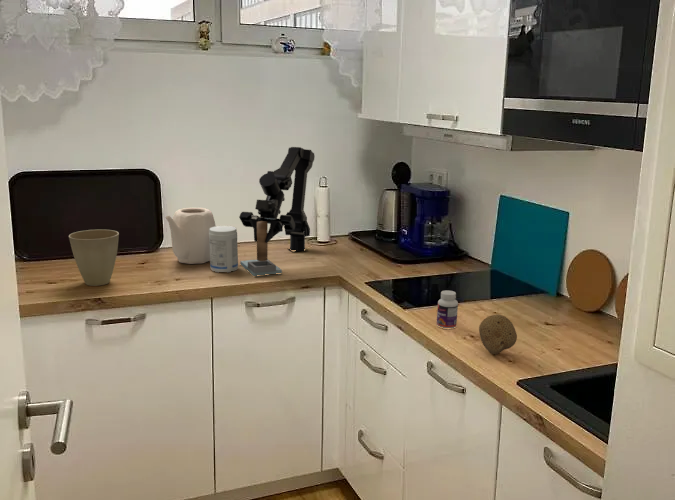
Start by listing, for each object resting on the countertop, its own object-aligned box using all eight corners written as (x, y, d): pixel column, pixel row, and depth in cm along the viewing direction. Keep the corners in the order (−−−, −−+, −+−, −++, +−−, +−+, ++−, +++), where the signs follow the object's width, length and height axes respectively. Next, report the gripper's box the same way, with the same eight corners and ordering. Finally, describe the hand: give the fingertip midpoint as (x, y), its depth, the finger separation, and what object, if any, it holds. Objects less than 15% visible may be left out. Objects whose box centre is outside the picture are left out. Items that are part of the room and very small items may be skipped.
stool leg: (256, 258, 234) (256, 221, 230) (267, 258, 234) (267, 221, 231) (257, 261, 230) (256, 223, 227) (267, 260, 231) (267, 223, 227)
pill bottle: (432, 324, 188) (434, 290, 185) (449, 322, 190) (451, 288, 188) (443, 331, 183) (445, 296, 181) (460, 328, 185) (462, 294, 183)
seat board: (240, 265, 243) (240, 255, 242) (267, 262, 247) (267, 253, 246) (254, 277, 228) (254, 267, 228) (282, 274, 232) (282, 264, 232)
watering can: (150, 267, 238) (148, 214, 233) (197, 251, 261) (196, 202, 257) (186, 273, 231) (184, 218, 227) (231, 256, 255) (230, 206, 250)
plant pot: (121, 274, 228) (118, 228, 224) (121, 287, 214) (119, 238, 210) (73, 277, 223) (69, 230, 219) (70, 291, 209) (67, 240, 205)
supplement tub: (229, 264, 243) (228, 224, 240) (243, 270, 236) (242, 229, 233) (204, 268, 237) (203, 227, 234) (218, 275, 230) (217, 232, 227)
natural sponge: (506, 346, 173) (510, 309, 171) (521, 360, 165) (524, 321, 162) (472, 347, 172) (475, 310, 169) (485, 361, 163) (488, 322, 161)
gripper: (241, 188, 233) (227, 226, 225) (292, 191, 228) (280, 230, 220) (250, 207, 242) (237, 244, 234) (300, 211, 237) (288, 249, 229)
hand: (260, 241), depth 229 cm, fingers closed on stool leg, 4 cm apart
